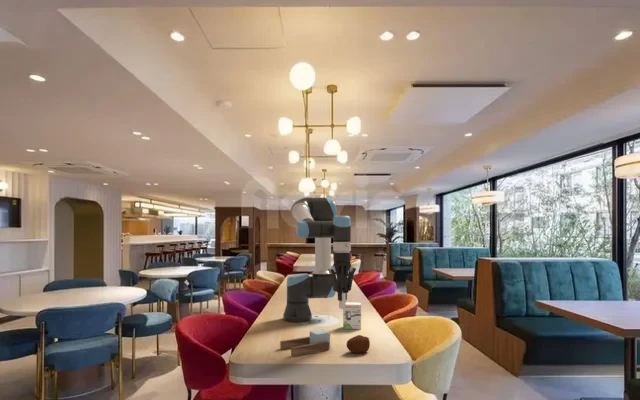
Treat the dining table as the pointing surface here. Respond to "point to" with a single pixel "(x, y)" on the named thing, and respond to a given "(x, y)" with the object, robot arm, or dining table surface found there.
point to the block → (319, 336)
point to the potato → (358, 344)
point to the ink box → (352, 316)
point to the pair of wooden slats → (303, 346)
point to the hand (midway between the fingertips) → (342, 308)
